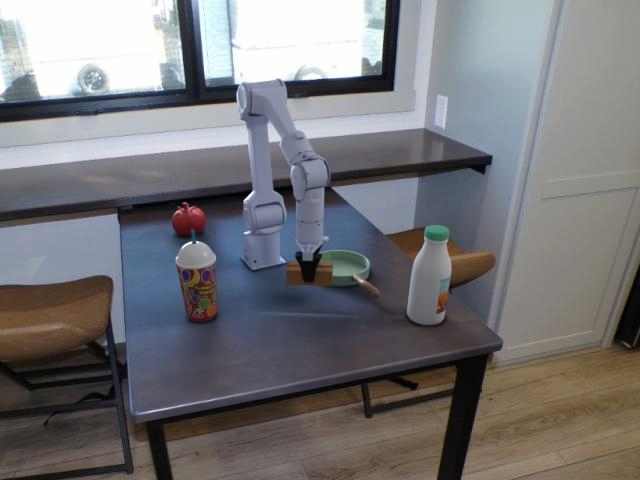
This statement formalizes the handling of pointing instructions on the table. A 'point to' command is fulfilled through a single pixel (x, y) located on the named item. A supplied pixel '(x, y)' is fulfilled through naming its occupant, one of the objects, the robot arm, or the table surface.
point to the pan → (346, 266)
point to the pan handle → (366, 285)
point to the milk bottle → (430, 278)
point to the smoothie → (198, 279)
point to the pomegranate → (188, 220)
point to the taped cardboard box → (321, 276)
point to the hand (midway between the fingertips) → (309, 276)
